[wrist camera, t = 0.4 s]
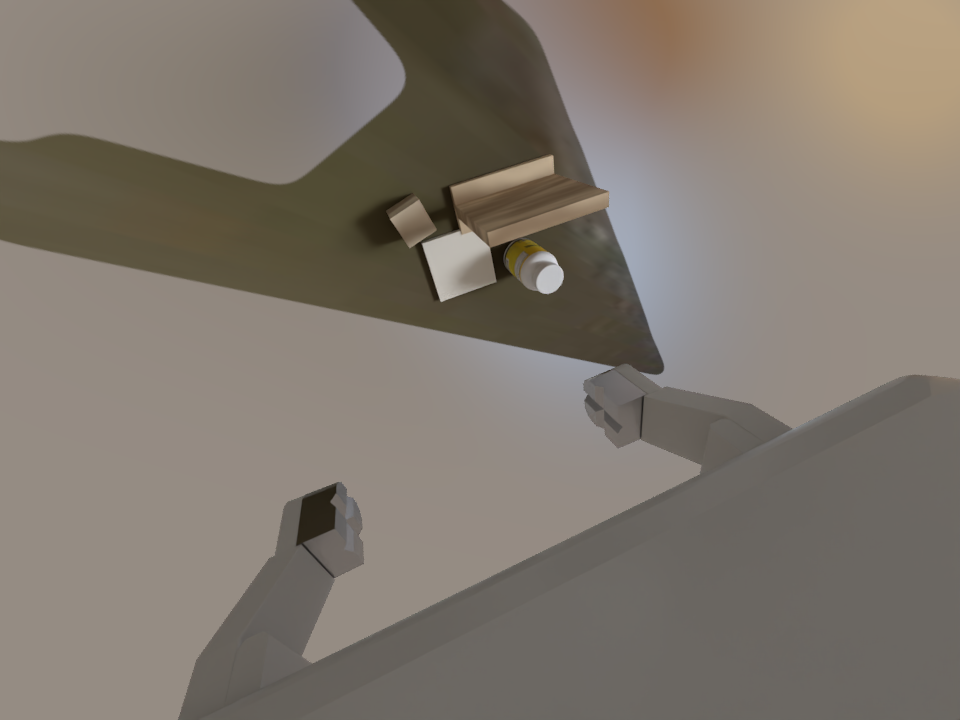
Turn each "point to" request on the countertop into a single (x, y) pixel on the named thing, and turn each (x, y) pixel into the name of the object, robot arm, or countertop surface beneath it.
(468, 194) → the tan t-shaped stand
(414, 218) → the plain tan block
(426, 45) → the countertop surface
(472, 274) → the coaster
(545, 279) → the supplement bottle
